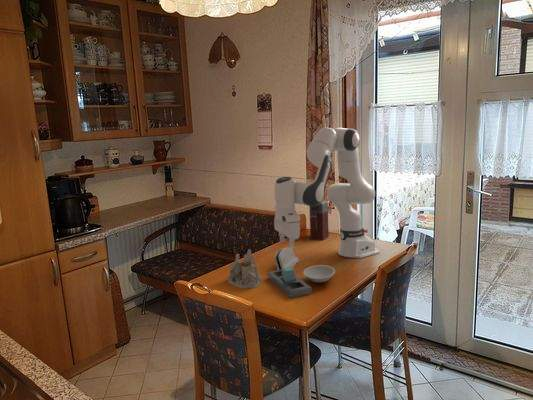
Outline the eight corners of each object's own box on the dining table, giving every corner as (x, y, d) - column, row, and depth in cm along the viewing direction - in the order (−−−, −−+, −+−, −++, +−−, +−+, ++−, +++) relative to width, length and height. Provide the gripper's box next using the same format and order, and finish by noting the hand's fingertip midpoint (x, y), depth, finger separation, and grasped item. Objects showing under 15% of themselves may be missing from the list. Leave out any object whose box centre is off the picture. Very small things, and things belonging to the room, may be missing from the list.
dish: (309, 273, 202) (308, 263, 201) (338, 276, 197) (338, 266, 196) (299, 287, 186) (298, 277, 185) (330, 290, 181) (330, 279, 180)
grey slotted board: (287, 274, 202) (286, 268, 202) (311, 293, 178) (311, 287, 178) (268, 278, 199) (267, 272, 198) (290, 298, 175) (290, 291, 174)
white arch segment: (286, 271, 206) (279, 252, 206) (278, 273, 208) (271, 255, 208) (299, 261, 221) (293, 243, 220) (292, 263, 223) (285, 245, 223)
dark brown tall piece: (308, 239, 259) (307, 195, 253) (315, 235, 268) (314, 192, 263) (322, 241, 254) (321, 196, 249) (328, 236, 264) (327, 193, 259)
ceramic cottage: (230, 275, 204) (229, 247, 201) (263, 276, 202) (262, 247, 199) (223, 290, 189) (221, 259, 186) (258, 291, 187) (257, 260, 184)
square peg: (282, 284, 190) (281, 268, 189) (291, 282, 192) (290, 266, 190) (286, 288, 186) (285, 271, 185) (295, 286, 188) (294, 269, 186)
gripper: (270, 210, 191) (271, 239, 194) (288, 219, 172) (289, 251, 175) (282, 209, 193) (284, 237, 196) (301, 217, 174) (303, 249, 177)
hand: (286, 244), depth 185 cm, fingers open, 8 cm apart
